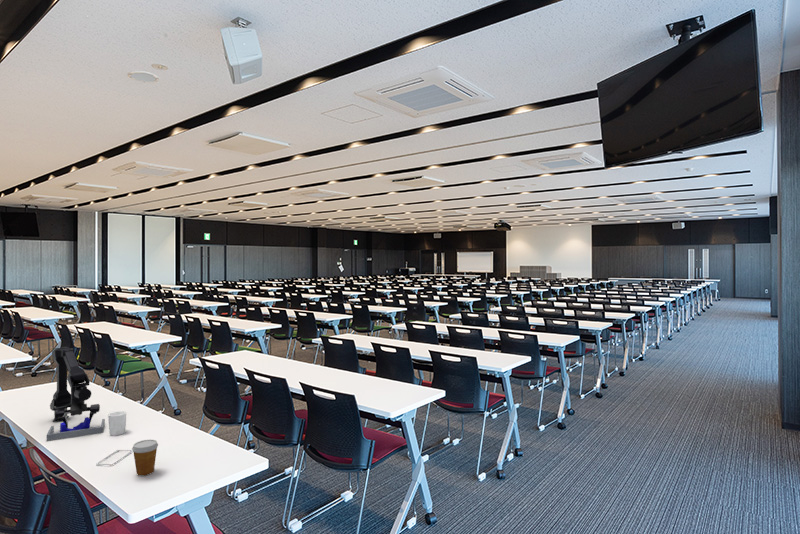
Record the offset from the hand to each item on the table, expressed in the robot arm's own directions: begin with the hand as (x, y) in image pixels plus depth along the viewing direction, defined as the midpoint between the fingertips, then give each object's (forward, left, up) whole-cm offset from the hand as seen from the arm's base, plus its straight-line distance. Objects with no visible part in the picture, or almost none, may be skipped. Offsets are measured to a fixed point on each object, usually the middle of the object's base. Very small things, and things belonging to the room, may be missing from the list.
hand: (78, 427), depth 242 cm
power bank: (+48, +18, -2) cm, 52 cm away
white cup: (+14, +18, -2) cm, 23 cm away
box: (+3, 0, -2) cm, 3 cm away
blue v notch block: (+2, -1, -1) cm, 3 cm away
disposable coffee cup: (+70, +30, -2) cm, 76 cm away
